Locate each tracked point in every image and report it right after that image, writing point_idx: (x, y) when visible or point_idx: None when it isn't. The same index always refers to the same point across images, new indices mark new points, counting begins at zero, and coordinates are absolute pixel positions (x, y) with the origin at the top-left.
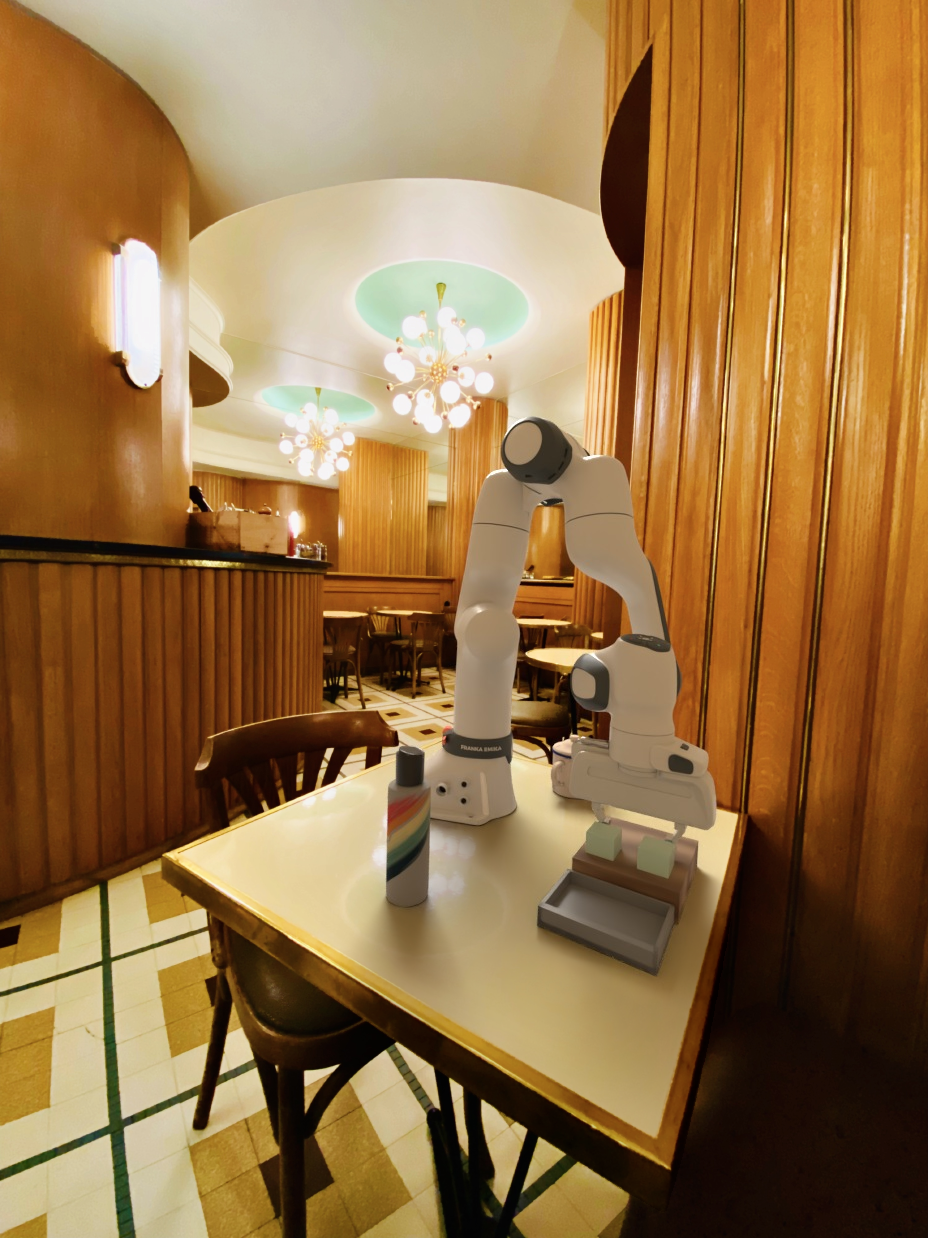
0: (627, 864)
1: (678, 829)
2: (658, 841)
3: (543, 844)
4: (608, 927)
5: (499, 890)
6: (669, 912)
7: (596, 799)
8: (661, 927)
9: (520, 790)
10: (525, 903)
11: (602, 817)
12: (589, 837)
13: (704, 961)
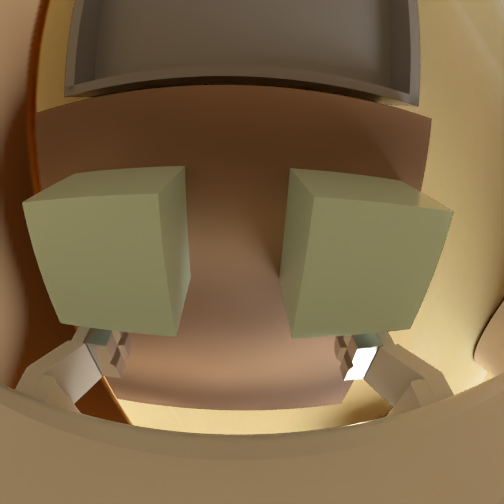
0: (228, 176)
1: (42, 377)
2: (106, 312)
3: (452, 264)
4: None
5: (483, 46)
6: (72, 54)
7: (457, 409)
8: (106, 40)
9: (458, 384)
10: (435, 11)
11: (383, 363)
12: (426, 200)
13: (40, 39)
